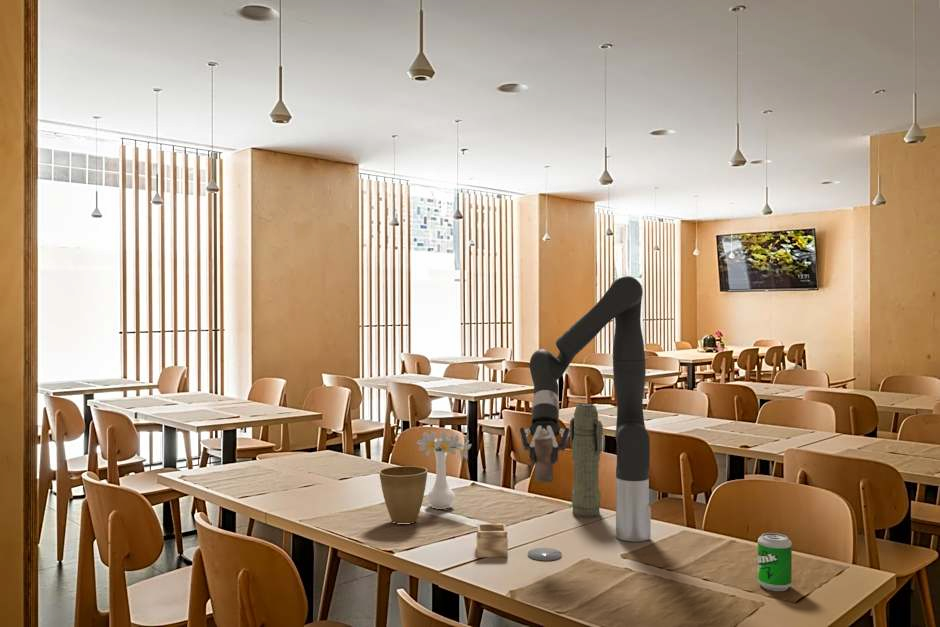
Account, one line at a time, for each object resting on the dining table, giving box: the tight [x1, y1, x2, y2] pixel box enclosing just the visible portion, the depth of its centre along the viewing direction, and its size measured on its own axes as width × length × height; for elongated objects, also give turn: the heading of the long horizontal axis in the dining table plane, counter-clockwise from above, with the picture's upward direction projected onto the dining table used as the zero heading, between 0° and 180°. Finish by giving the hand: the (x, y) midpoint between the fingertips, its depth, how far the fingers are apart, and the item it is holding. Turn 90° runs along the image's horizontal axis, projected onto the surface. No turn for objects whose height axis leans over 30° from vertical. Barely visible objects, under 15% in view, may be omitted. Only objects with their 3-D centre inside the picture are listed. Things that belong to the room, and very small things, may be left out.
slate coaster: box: [527, 547, 563, 562], centre depth 211 cm, size 9×9×1 cm
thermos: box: [569, 403, 604, 518], centre depth 252 cm, size 9×12×35 cm
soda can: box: [757, 532, 793, 592], centre depth 187 cm, size 8×8×12 cm
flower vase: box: [416, 430, 472, 510], centre depth 261 cm, size 13×18×25 cm
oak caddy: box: [476, 523, 509, 558], centre depth 214 cm, size 8×9×6 cm
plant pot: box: [378, 465, 428, 523], centre depth 244 cm, size 15×15×16 cm
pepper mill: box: [534, 429, 554, 483], centre depth 211 cm, size 5×5×14 cm
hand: (543, 461), depth 209 cm, fingers closed on pepper mill, 4 cm apart
